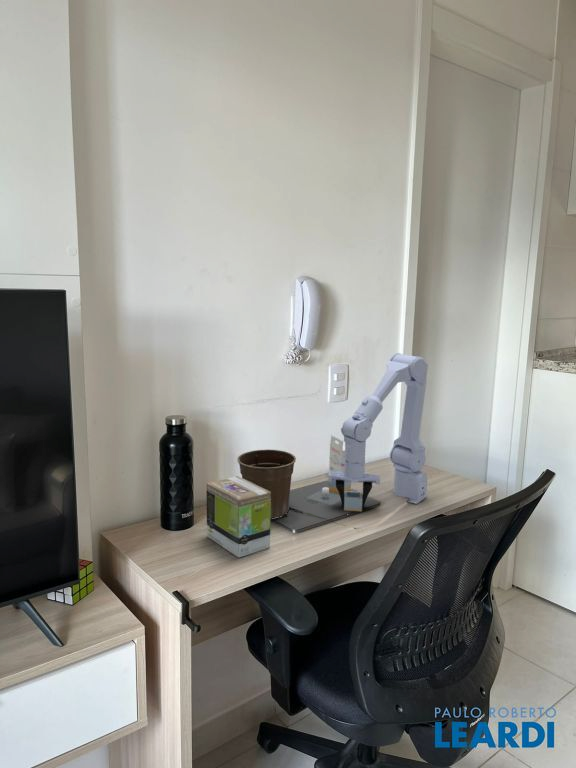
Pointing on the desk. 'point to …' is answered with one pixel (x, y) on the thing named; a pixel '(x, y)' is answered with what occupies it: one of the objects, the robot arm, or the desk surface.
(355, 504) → the loose sleeve
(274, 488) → the plant pot
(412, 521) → the desk surface
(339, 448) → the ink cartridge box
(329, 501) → the peg board
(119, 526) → the desk surface
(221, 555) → the desk surface
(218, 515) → the tea box
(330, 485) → the seated sleeve
